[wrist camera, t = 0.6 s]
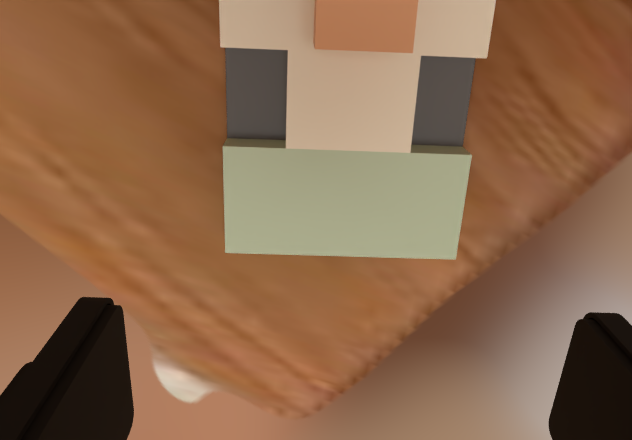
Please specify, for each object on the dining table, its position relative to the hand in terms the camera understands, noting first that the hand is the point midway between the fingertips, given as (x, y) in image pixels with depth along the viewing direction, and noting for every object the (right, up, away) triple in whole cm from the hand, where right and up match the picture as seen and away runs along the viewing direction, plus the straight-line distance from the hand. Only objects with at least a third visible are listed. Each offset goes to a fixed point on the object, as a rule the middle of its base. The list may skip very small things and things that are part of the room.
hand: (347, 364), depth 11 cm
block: (+2, +16, +20) cm, 25 cm away
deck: (+1, +11, +25) cm, 27 cm away
